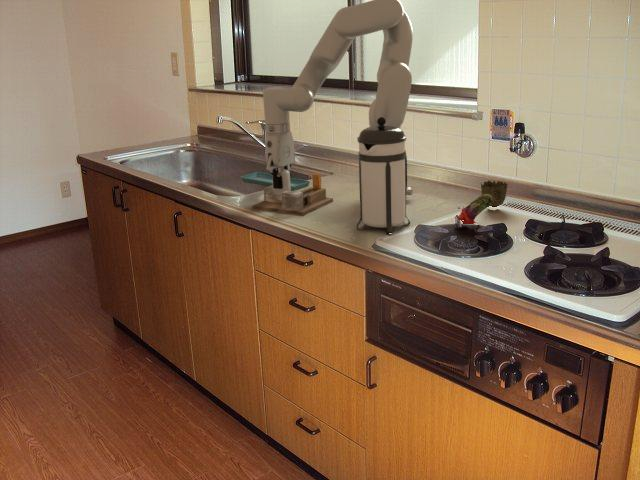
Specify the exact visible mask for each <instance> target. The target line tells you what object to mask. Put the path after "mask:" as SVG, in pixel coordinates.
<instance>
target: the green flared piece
mask: <svg viewBox="0 0 640 480" xmlns="http://www.w3.org/2000/svg"><path fill="white" fill-rule="evenodd" d="M508 185H509V184H508V182H506V181H503V180H501V181H500V180H497V182H496V181H495V180H493V181H491V180H487V181H483V183H482V182H480V190H481V195H483V194H488V195H491V197H492V202H491V206H492V207H497V206H501V205H503V203H504V202H505V200H506V198H507V197H506V196H507V193H508V191H507V190H508Z"/></svg>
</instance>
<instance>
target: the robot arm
mask: <svg viewBox="0 0 640 480" xmlns="http://www.w3.org/2000/svg"><path fill="white" fill-rule="evenodd" d="M380 31H382V32H383V41H382V51H381V56H380V61H379V66H378V70H377V72H376V82H377V90H376V94H375V95H376V96H375V98H374V99H373V101H372V102H371V104H370V105H369V109H368V125H369V126H368V127H373V126H380V125H379V124H378V123H377V120H378V118H380V117H383V118H385V120H386V122H385V124H384V126H394V127H398V128H400V129H401V126H402V125H403V123H404V121H405V118H406V114H407V108H408V104H409V99H410V95H411V88H412V82H413V81H412V80H413V78H412V77H413V75H412V72H411V70H410V68H409V65H410V59H411V53H412V47H413V38H414V37H413V36H414V35H413V34H414V33H413V25H412V22H411V20H410V18H409V16H408V14H407V12H406V10H404V7H403V4H402V2H401V1H400V0H369V1H365V2H363V3H358V4H355V5H350V6H344V7H342V8H339V9H338V11H337V12H336V13H335V15H334V16H333V18H332V20H331V21H330V23H329V24H328V26H327V27H326V29H325V31H324V32H323V34H322V36H321V38H320V39H319V40H318V42H317V44H316V45H315V47H314V48H313V50H312V52H311V54H310V56H309V59H308V61H307V62H306V64H305V65H304V67H303V69H302V70H301V73H300V74H299V76H298V77H297V79H296V80H295V82H294V84H293V85H292V87H289V88H285V87H283V86H275V87H272V86H271V87H267V88H265V89H263V91H262V100H263V101H262V102H263V113H264V114H263V115H264V124H265V141H264V142H265V143H264V145H265V147H264V148H265V150H264V152H265V155H264V156H265V162H266V167H265V170H266V171H267V172H269V174H271V176H273V188H275V189H282V188H283V185H282V176H280V175H281V167H283V166H284V169H286V170H288V171H289V173H291V168H292V166H293V164H294V163H295V161H296V150H295V143H294V137H293V133H292V131H291V121H290V120H291V119H290V112H292V113H293V112H295V113H303V112H307V111H309V110H310V109H311V107H312V106H313V104H314V99H315V97H316V95H317V93H318V92H319V90H320V88H321V87H322V86H323V83H324V82H325V81H326V79H327V78H328V77H329V76H330V74H331V73H333V72H334V71H335V69H336V68H337V67H338V66H339V65H340V63H341V61H342V60H343V58H344V57H345V55H346V54H347V52H348V50H349V49H350V47H351V45H352V44H353V42H354V41H355V38H357V37H360V36H361V37H362V36H366V35H368V34H372V33H377V32H380ZM401 130H402V129H401ZM276 169H277V171H276ZM413 194H414V193H413V187H407V191H406V196H413Z"/></svg>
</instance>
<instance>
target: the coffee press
mask: <svg viewBox="0 0 640 480" xmlns="http://www.w3.org/2000/svg"><path fill="white" fill-rule="evenodd" d="M385 122H386V120H385V118H383V117H380V118H378V120H377V123H378V124H379V125H380V126H373V127H370V126H368V127H365V128H364V129H362V130H361V131H360V133H359V135H358V137H357V143H358V147H359V148H358V153H357V154H358V179H359V180H358V181H359V182H358V184H359V215H360V218H359V221H358V222H357V223H356V226H355V227H356V229H357V230H358V231H362V230H363V229H364V227H366V226H369V227H372V228H384V229H385V232H386V235H387V234H389V233H394V231H393V227H396V226H399V225H401V224H404V225H405V226H410V224H411V221H410V220H409V218H408V217H407V195H406V191H407V188H408V160H407V159H408V157H407V152H406V141H407V135H405V132H404V131H403V130H402V129H400V128H398V127H394V126H384V124H385ZM405 220H407V221H408V222H407V223H405ZM361 223H364V224H363V225H361V227H359V226H360V224H361ZM389 235H390V234H389Z"/></svg>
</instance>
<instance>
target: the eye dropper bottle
mask: <svg viewBox="0 0 640 480" xmlns="http://www.w3.org/2000/svg"><path fill="white" fill-rule="evenodd" d="M275 169H276V171H277V168H275ZM290 173H291V172H290ZM290 173H289V171H288V170H286V169H284V166H283V167H281V175H280V176H282V185H283V188H282V189H275V188H273V193H274V195H277V196H282V193H283V192H285V191H292V190H291V185H290V178H291V176H290ZM272 180H273V176H272Z"/></svg>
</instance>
